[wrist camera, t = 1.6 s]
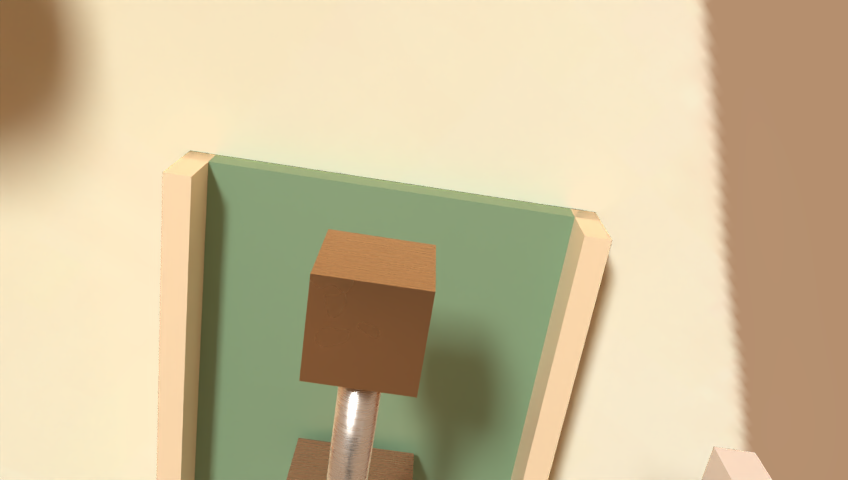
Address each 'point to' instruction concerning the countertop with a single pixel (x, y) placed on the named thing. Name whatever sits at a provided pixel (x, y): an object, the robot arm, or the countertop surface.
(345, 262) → the rod
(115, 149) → the countertop surface
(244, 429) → the pitch
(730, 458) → the robot arm
